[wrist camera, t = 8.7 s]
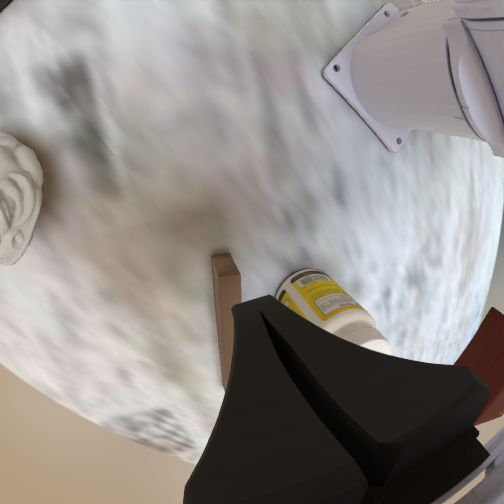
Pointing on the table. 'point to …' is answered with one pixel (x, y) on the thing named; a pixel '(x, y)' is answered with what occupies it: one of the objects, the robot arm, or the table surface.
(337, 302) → the supplement bottle
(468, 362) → the box
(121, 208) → the table surface
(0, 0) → the mortar and pestle
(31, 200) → the white carved rounded piece
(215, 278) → the walnut rail
